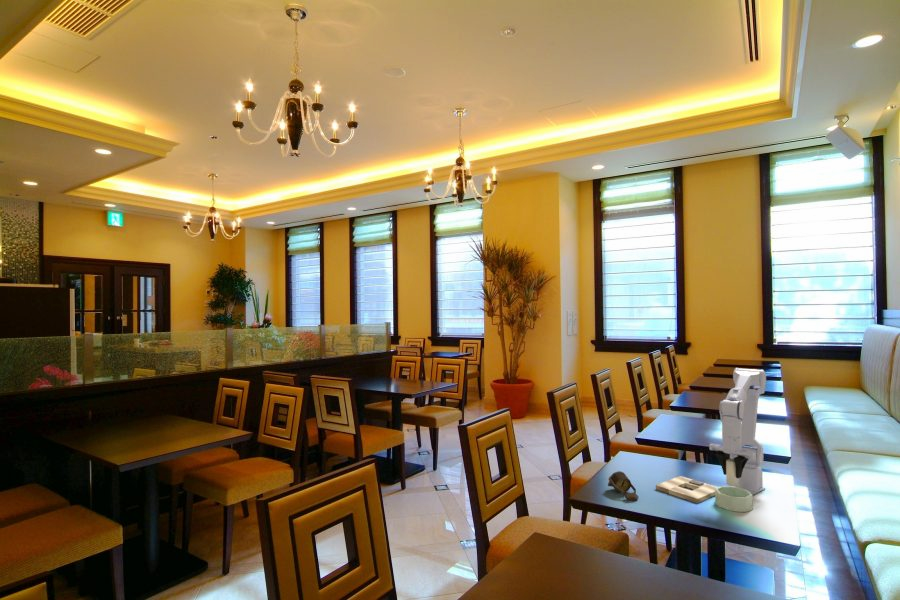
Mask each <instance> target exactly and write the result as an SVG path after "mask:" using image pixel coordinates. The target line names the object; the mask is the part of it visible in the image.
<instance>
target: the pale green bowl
mask: <svg viewBox="0 0 900 600" xmlns="http://www.w3.org/2000/svg"><path fill="white" fill-rule="evenodd" d="M717 487H718V488H716V489H715V496H714V498H715V504H716V506H717V507H720V508H722V509H723V510H727V511H731V512H735V513H748V512H750V511H752V510H753V494H751V493H750V492H749V491H748V490H744V489H741V488H738V487H732V486H729V485H727V486H726V485H720V486H717Z"/></svg>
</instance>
